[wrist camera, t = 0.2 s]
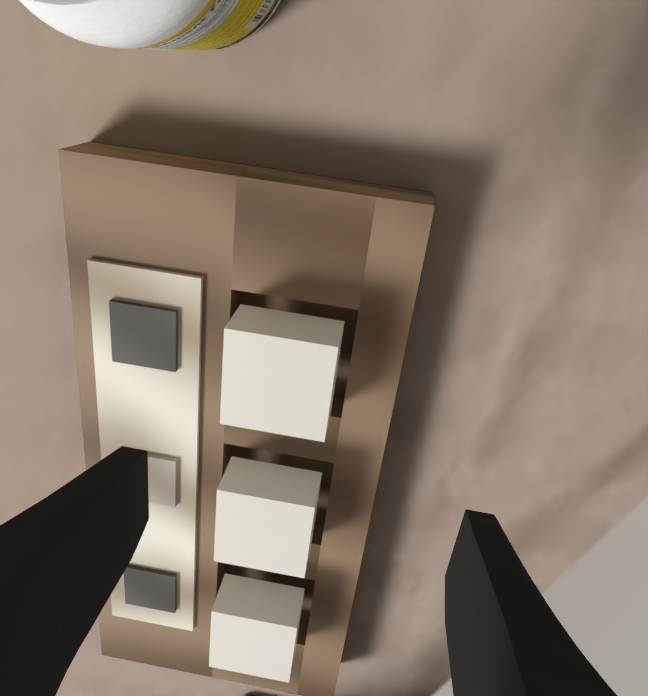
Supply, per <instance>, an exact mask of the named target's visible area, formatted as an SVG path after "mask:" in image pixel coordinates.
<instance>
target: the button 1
mask: <svg viewBox="0 0 648 696" xmlns="http://www.w3.org/2000/svg"><path fill="white" fill-rule="evenodd" d="M304 590H305V589H304V588H299V587H294V586H289V585H283V584H278V583H273V582H268V581H263V580H257V579H252V578H247V577H242V576H236V575H231V574H226V573H225V574H224V577H223V580H222V583H221V586H220V588H219V591H218V594H217V597H216V600H215V603H214V605H213V608H212V611H211V630H210V652H209V667H213V668H218V669H223V670H228V671H233V672H238V673H243V674H248V675H253V676H258V677H263V678H268V679H273V680H278V681H282V682H287V683H289V680H290V675H291V670H292V664H293V659H294V654H295V649H296V643H297V637H298V630H299V624H300V617H301V610H302V604H303V597H304Z"/></svg>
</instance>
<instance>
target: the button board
mask: <svg viewBox="0 0 648 696" xmlns="http://www.w3.org/2000/svg"><path fill="white" fill-rule="evenodd" d="M59 160H60V172H61V183H62V195H63V206H64V218H65V230H66V241H67V253H68V264H69V276H70V288H71V299H72V311H73V322H74V334H75V345H76V357H77V369H78V380H79V392H80V403H81V415H82V427H83V438H84V450H85V461H86V470H88V469H89V468H90V467H92V466H93V465H95V464H96V463H98V462H99V461H100V460H102V459H103V458H105V457H106V456H108V455H109V454H111V453H112V452H114V451H115V450H117V449H118V448H120V447H121V446H124V447H130V448H135V449H141V450H146V451H148V496H149V520H148V522H147V525H146V527H145V529H144V532H143V534H142V537H141V539H140V541H139V543H138V546H137V548H136V550H135V552H134V555H133V557H132V559H131V561H130V563H129V564H128V566H127V568H126V570H125V571H124V573H123V575H122V577H121V578H120V580H119V582H118V583H117V585H116V587H115V589H114V590H113V592H112V594H111V595H110V597H109V599H108V600H107V602H106V604H105V605H104V607H103V609H102V610H101V612H100V614H99V624H100V635H101V647H102V655H106V656H111V657H115V658H120V659H125V660H130V661H135V662H140V663H145V664H150V665H155V666H160V667H165V668H170V669H175V670H179V671H184V672H189V673H194V674H199V675H204V676H209V677H214V678H219V679H224V680H229V681H234V682H239V683H243V684H248V685H253V686H258V687H263V688H268V689H273V690H278V691H283V692H288V693H293V694H298V695H302V696H334V691H335V686H336V682H337V677H338V672H339V667H340V662H341V657H342V653H343V648H344V643H345V638H346V633H347V628H348V624H349V619H350V614H351V609H352V604H353V600H354V595H355V590H356V585H357V580H358V575H359V571H360V566H361V561H362V556H363V551H364V546H365V542H366V537H367V532H368V527H369V522H370V517H371V513H372V508H373V503H374V498H375V493H376V488H377V484H378V479H379V474H380V469H381V464H382V460H383V455H384V450H385V445H386V440H387V435H388V431H389V426H390V421H391V416H392V411H393V406H394V402H395V397H396V392H397V387H398V382H399V377H400V373H401V368H402V363H403V358H404V353H405V348H406V344H407V339H408V334H409V329H410V324H411V320H412V315H413V310H414V305H415V300H416V295H417V291H418V286H419V281H420V276H421V271H422V266H423V262H424V257H425V252H426V247H427V242H428V237H429V233H430V228H431V223H432V218H433V213H434V208H435V203H434V198H433V192H426V191H419V190H412V189H405V188H399V187H392V186H385V185H378V184H372V183H365V182H358V181H351V180H345V179H338V178H331V177H324V176H318V175H311V174H304V173H297V172H291V171H284V170H277V169H270V168H264V167H257V166H250V165H243V164H236V163H230V162H223V161H216V160H209V159H203V158H196V157H189V156H182V155H176V154H169V153H162V152H155V151H149V150H142V149H135V148H128V147H122V146H115V145H108V144H101V143H95V142H86V143H82V144H78V145H74V146H71V147H67V148H63V149H59ZM240 304H242V305H248V306H254V307H261V308H267V309H273V310H279V311H285V312H291V313H297V314H304V315H310V316H316V317H322V318H328V319H334V320H340V321H345V322H344V329H343V336H342V343H341V349H340V356H339V363H338V369H337V376H336V383H335V389H334V396H333V403H332V409H331V414H330V419H329V424H328V428H327V433H326V437H325V442H320V441H315V440H309V439H303V438H298V437H292V436H286V435H281V434H275V433H269V432H264V431H258V430H252V429H247V428H241V427H235V426H230V425H224V424H220V407H221V385H222V363H223V340H224V328H225V326H226V325H227V323H228V322H229V320H230V319H231V317H232V316H233V314H234V313H235V312H236V310H237V309H238V307H239V306H240ZM232 456H233V457H239V458H244V459H250V460H255V461H261V462H266V463H272V464H278V465H283V466H289V467H294V468H300V469H306V470H311V471H317V472H322V476H321V483H320V490H319V496H318V503H317V510H316V517H315V523H314V530H313V537H312V543H311V548H310V553H309V558H308V563H307V568H306V573H305V578H300V577H294V576H289V575H284V574H279V573H273V572H268V571H263V570H258V569H252V568H247V567H242V566H237V565H231V564H226V563H221V562H216V561H214V541H215V519H216V496H217V488H218V486H219V484H220V481H221V479H222V477H223V475H224V472H225V470H226V468H227V466H228V463H229V461H230V459H231V457H232ZM225 573H226V574H231V575H236V576H242V577H247V578H252V579H257V580H263V581H268V582H273V583H278V584H283V585H289V586H294V587H299V588H304V589H305V590H304V597H303V604H302V610H301V617H300V624H299V630H298V637H297V643H296V649H295V654H294V659H293V664H292V670H291V675H290V680H289V683H287V682H282V681H278V680H273V679H268V678H263V677H258V676H253V675H248V674H243V673H238V672H233V671H228V670H223V669H218V668H213V667H209V652H210V630H211V611H212V608H213V605H214V603H215V600H216V597H217V594H218V591H219V588H220V586H221V583H222V580H223V577H224V574H225Z"/></svg>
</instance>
